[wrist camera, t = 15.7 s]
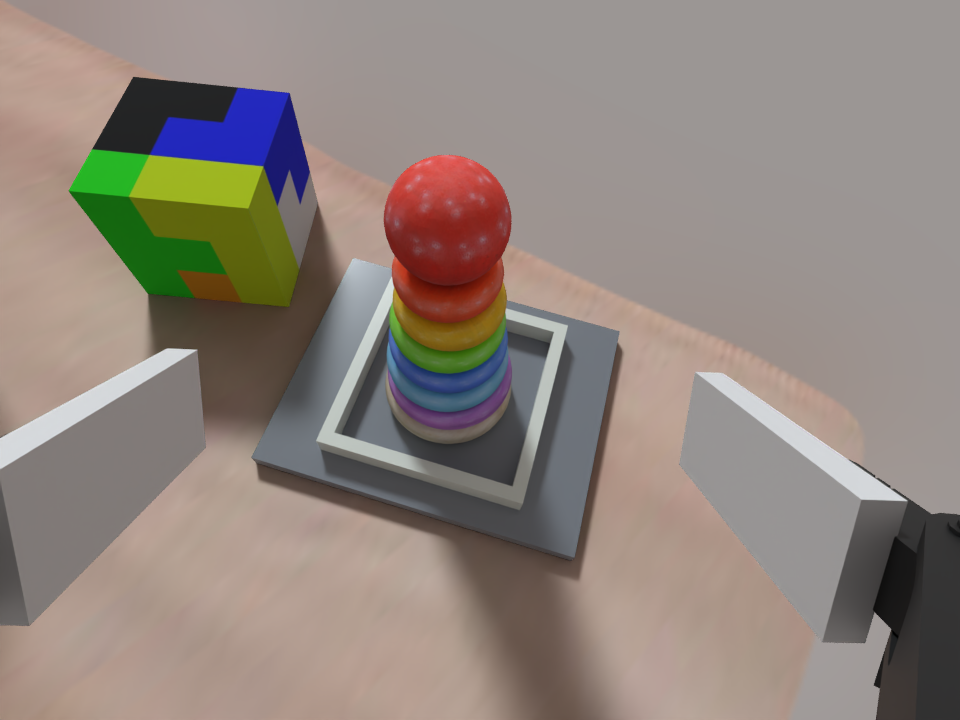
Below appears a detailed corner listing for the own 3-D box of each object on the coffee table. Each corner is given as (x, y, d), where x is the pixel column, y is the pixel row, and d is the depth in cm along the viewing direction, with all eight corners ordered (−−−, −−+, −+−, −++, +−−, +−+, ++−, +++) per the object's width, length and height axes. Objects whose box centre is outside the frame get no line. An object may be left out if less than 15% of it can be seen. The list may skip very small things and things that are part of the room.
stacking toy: (412, 324, 39) (397, 77, 23) (523, 358, 39) (588, 129, 22) (367, 425, 36) (309, 214, 19) (488, 465, 35) (536, 282, 19)
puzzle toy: (318, 203, 46) (289, 92, 37) (289, 307, 41) (248, 208, 32) (192, 191, 45) (133, 76, 37) (148, 294, 41) (68, 190, 32)
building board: (256, 462, 35) (244, 449, 33) (355, 266, 43) (350, 244, 41) (570, 560, 34) (580, 553, 31) (615, 338, 41) (625, 320, 39)
